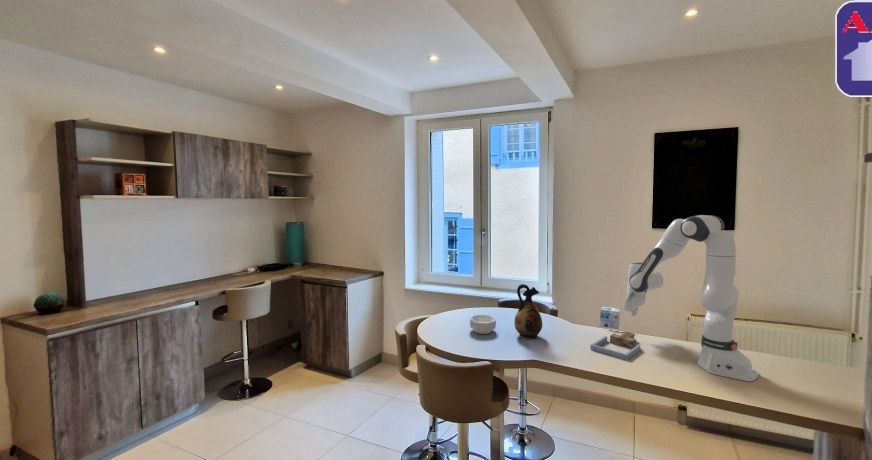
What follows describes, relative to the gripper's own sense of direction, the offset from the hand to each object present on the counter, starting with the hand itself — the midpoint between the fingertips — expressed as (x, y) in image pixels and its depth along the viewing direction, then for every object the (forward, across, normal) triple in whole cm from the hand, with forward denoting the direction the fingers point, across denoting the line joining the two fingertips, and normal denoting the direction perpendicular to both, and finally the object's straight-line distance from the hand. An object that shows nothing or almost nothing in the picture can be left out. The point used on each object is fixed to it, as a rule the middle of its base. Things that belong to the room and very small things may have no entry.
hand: (634, 315), depth 224 cm
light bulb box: (+13, +7, +16) cm, 22 cm away
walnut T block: (+12, -12, -1) cm, 17 cm away
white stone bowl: (+14, -52, +65) cm, 85 cm away
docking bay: (+12, -25, -1) cm, 28 cm away
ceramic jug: (+13, -42, +42) cm, 61 cm away
